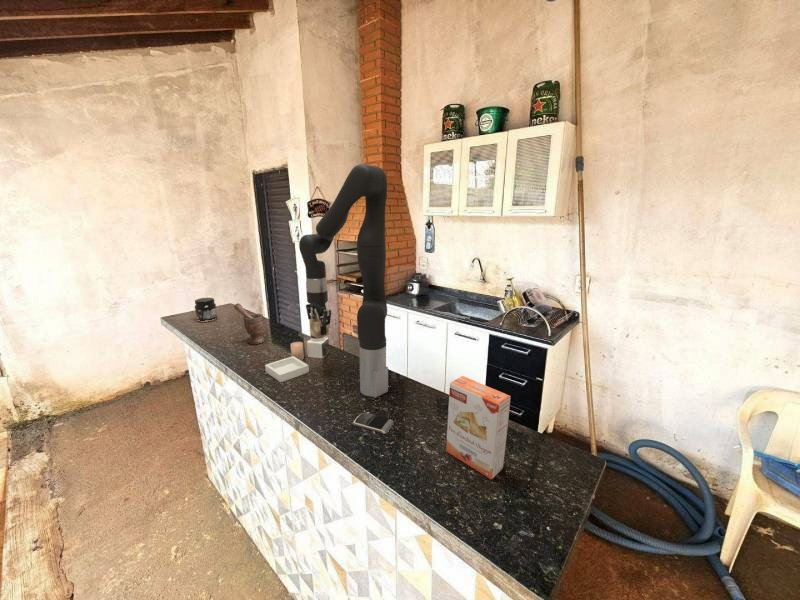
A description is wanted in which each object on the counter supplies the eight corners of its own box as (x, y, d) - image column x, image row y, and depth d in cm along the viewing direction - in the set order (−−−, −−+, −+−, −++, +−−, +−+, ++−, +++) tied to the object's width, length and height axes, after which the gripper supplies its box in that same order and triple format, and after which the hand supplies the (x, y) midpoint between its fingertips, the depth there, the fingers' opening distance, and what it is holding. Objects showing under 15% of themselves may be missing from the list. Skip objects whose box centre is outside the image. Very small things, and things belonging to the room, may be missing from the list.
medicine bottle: (322, 358, 148) (321, 332, 145) (307, 357, 149) (305, 331, 146) (329, 352, 155) (328, 326, 152) (314, 350, 156) (313, 325, 153)
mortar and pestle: (245, 349, 157) (241, 306, 152) (236, 344, 162) (231, 303, 157) (269, 341, 166) (265, 301, 161) (259, 337, 171) (255, 298, 166)
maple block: (328, 334, 131) (328, 319, 129) (317, 338, 128) (316, 322, 126) (321, 331, 134) (320, 317, 133) (310, 334, 131) (309, 319, 129)
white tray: (309, 372, 136) (308, 365, 135) (280, 382, 127) (279, 375, 127) (293, 362, 144) (293, 356, 143) (265, 371, 135) (265, 364, 135)
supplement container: (197, 318, 199) (194, 298, 196) (218, 316, 203) (215, 296, 200) (195, 323, 190) (192, 302, 187) (217, 321, 194) (214, 301, 191)
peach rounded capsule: (306, 359, 147) (305, 344, 145) (295, 362, 144) (294, 347, 142) (300, 355, 151) (299, 340, 149) (289, 359, 147) (288, 343, 145)
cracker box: (444, 453, 92) (448, 381, 86) (458, 442, 96) (462, 374, 91) (491, 482, 82) (498, 404, 77) (503, 469, 86) (511, 394, 81)
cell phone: (362, 415, 109) (362, 411, 108) (394, 424, 105) (394, 420, 104) (352, 426, 103) (352, 422, 103) (385, 435, 99) (385, 431, 99)
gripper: (297, 287, 129) (301, 330, 133) (318, 294, 119) (321, 340, 123) (315, 284, 134) (317, 326, 138) (336, 290, 124) (338, 335, 129)
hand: (319, 332), depth 131 cm, fingers closed on maple block, 5 cm apart
